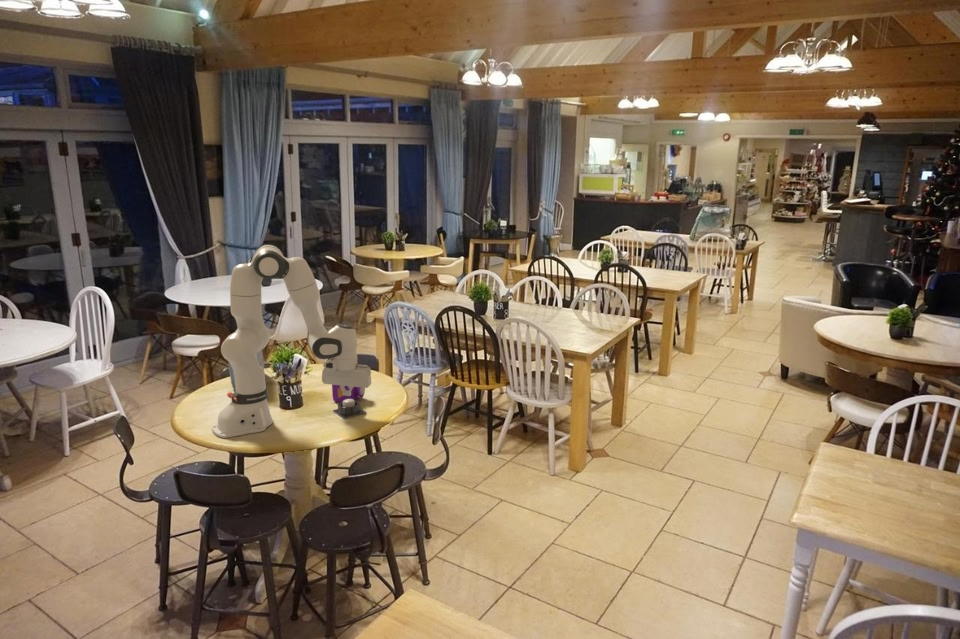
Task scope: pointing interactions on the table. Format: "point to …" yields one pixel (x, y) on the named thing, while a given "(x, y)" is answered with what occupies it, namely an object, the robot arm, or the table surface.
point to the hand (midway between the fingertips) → (347, 395)
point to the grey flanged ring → (349, 410)
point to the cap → (348, 403)
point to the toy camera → (355, 391)
